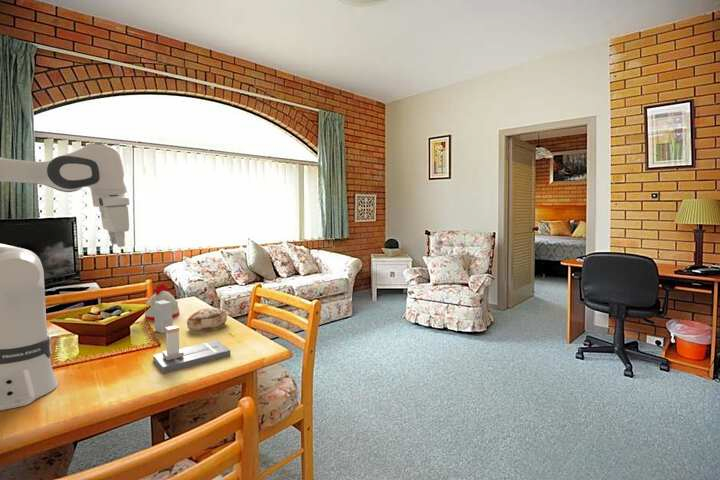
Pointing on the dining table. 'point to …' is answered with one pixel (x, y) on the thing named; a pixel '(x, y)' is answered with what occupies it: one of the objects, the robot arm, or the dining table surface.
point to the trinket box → (206, 320)
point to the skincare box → (162, 315)
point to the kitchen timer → (159, 296)
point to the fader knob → (172, 343)
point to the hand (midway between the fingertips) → (118, 245)
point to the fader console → (192, 356)
